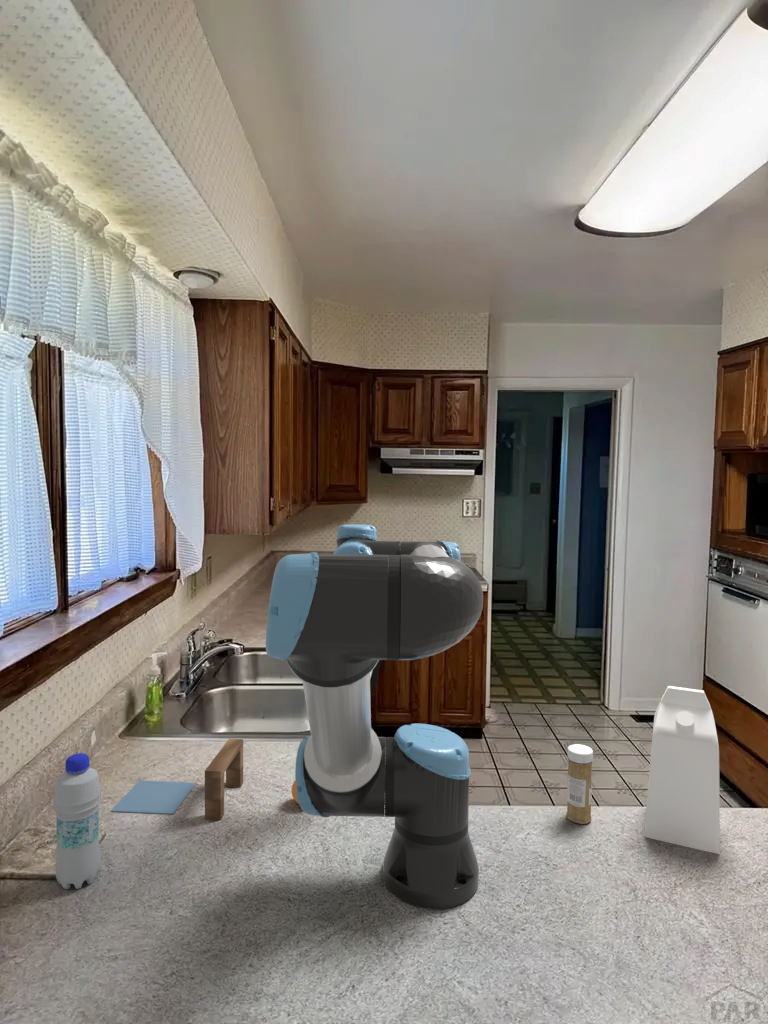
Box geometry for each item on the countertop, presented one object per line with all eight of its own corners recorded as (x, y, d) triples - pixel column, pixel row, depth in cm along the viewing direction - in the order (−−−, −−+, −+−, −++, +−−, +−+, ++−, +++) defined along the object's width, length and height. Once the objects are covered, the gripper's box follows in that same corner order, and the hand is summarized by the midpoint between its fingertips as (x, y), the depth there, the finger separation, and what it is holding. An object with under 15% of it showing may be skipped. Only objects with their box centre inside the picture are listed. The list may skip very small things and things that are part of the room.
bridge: (243, 782, 130) (243, 739, 130) (220, 820, 116) (220, 771, 115) (229, 782, 130) (228, 738, 130) (204, 819, 116) (204, 770, 115)
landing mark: (173, 814, 118) (173, 813, 118) (111, 811, 118) (111, 810, 118) (196, 783, 130) (196, 782, 130) (139, 781, 130) (139, 780, 130)
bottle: (111, 872, 100) (110, 749, 99) (78, 898, 94) (76, 767, 93) (78, 863, 102) (77, 743, 101) (44, 888, 96) (42, 760, 95)
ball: (317, 811, 119) (317, 783, 119) (288, 810, 119) (288, 782, 119) (322, 797, 125) (322, 770, 124) (294, 796, 125) (294, 769, 125)
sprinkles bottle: (596, 820, 117) (598, 750, 117) (580, 827, 115) (582, 755, 114) (576, 809, 121) (578, 741, 120) (560, 816, 118) (562, 746, 118)
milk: (715, 821, 117) (721, 684, 116) (719, 854, 107) (725, 704, 106) (646, 806, 122) (650, 675, 121) (643, 836, 112) (648, 693, 111)
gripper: (391, 602, 123) (389, 720, 124) (325, 600, 124) (324, 717, 125) (389, 610, 116) (387, 735, 117) (319, 608, 116) (318, 733, 118)
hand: (355, 726), depth 121 cm, fingers closed
